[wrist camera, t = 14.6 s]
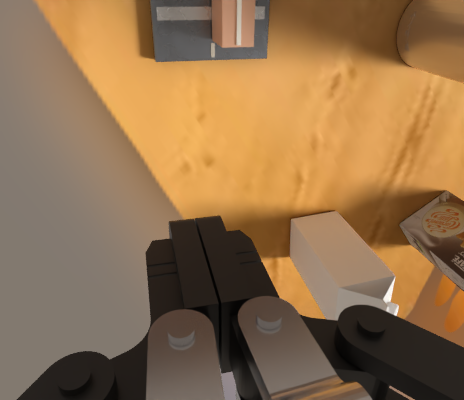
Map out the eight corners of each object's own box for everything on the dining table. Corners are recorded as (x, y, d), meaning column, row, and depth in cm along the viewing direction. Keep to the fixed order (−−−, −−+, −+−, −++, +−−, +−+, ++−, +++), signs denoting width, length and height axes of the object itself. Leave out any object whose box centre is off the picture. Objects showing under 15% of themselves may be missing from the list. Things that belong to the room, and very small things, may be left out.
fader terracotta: (241, -15, 39) (256, -14, 34) (240, 39, 41) (254, 47, 37) (211, -16, 38) (222, -15, 34) (212, 40, 40) (222, 48, 36)
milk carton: (289, 257, 60) (349, 359, 44) (290, 217, 56) (356, 313, 40) (332, 248, 61) (406, 345, 45) (336, 209, 57) (418, 299, 41)
